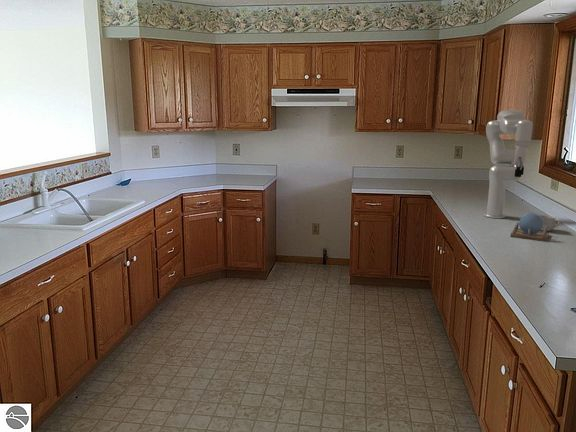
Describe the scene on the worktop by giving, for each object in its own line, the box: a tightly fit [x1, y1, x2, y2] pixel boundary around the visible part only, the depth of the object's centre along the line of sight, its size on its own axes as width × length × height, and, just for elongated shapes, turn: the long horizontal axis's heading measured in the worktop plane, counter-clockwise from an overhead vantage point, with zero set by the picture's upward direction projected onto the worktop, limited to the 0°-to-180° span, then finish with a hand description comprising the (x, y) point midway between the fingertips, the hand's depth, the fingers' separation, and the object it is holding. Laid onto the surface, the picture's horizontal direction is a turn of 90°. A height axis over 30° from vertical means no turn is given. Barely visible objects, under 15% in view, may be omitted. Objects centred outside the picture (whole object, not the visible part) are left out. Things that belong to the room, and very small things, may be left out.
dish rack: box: [510, 222, 550, 242], centre depth 258 cm, size 15×17×5 cm
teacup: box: [538, 214, 561, 232], centre depth 269 cm, size 14×11×8 cm
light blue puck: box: [518, 212, 543, 236], centre depth 255 cm, size 2×11×12 cm, turn 59°
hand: (518, 175), depth 265 cm, fingers open, 9 cm apart
